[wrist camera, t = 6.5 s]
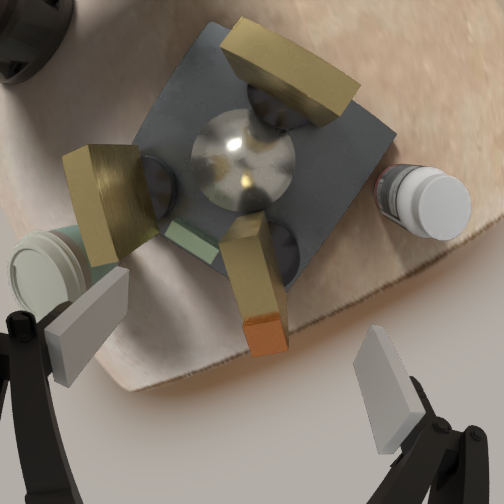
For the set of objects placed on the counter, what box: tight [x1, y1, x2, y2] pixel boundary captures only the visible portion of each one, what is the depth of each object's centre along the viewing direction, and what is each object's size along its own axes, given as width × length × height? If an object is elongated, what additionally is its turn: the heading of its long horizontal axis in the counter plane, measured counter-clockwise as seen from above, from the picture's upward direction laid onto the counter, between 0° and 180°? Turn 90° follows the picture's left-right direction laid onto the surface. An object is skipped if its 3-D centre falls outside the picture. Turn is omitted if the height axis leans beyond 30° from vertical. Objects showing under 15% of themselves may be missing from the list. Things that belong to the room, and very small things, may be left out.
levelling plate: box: [131, 21, 397, 293], centre depth 27 cm, size 20×20×3 cm
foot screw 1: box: [62, 144, 177, 267], centre depth 23 cm, size 8×6×10 cm
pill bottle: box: [374, 164, 471, 241], centre depth 23 cm, size 6×6×10 cm
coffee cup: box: [7, 225, 122, 323], centre depth 27 cm, size 8×8×12 cm
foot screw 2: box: [219, 17, 361, 130], centre depth 20 cm, size 8×6×10 cm
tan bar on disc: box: [219, 211, 300, 357], centre depth 24 cm, size 8×6×11 cm
